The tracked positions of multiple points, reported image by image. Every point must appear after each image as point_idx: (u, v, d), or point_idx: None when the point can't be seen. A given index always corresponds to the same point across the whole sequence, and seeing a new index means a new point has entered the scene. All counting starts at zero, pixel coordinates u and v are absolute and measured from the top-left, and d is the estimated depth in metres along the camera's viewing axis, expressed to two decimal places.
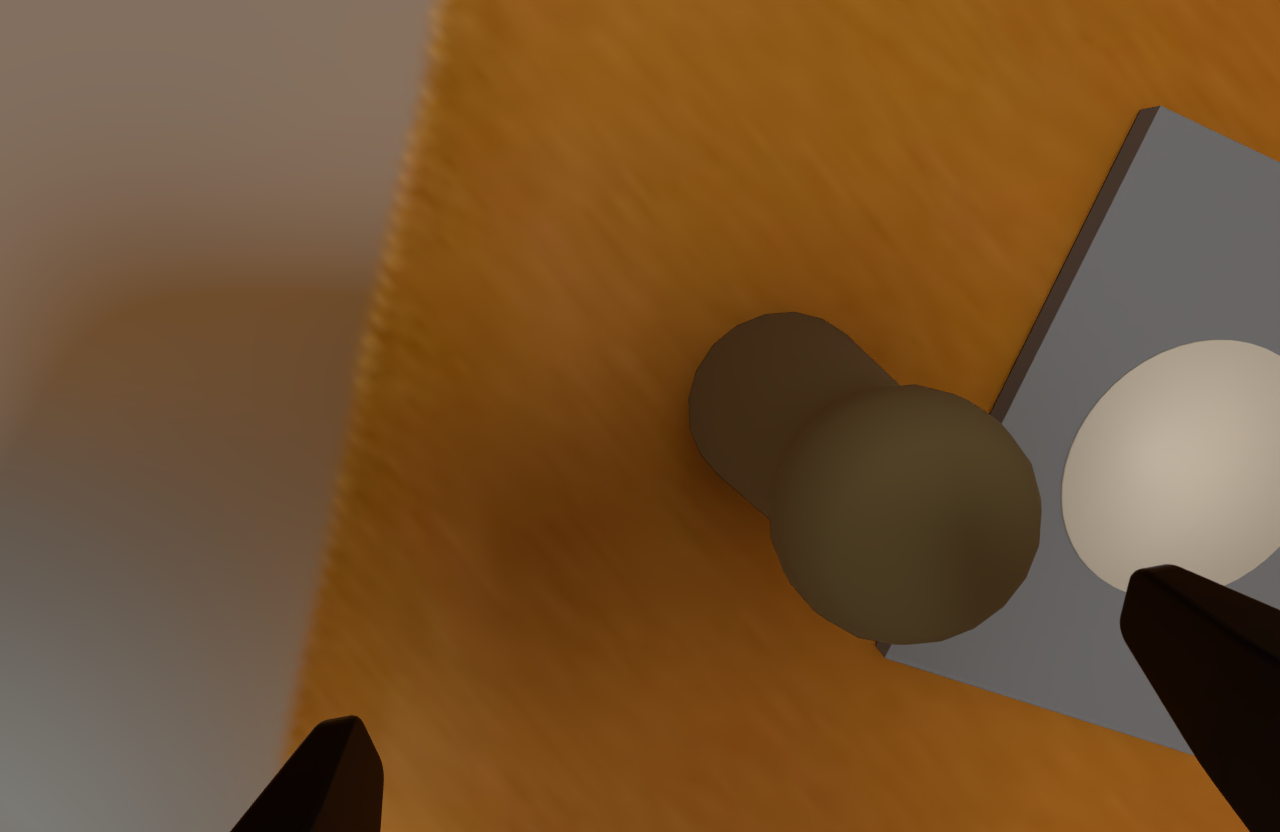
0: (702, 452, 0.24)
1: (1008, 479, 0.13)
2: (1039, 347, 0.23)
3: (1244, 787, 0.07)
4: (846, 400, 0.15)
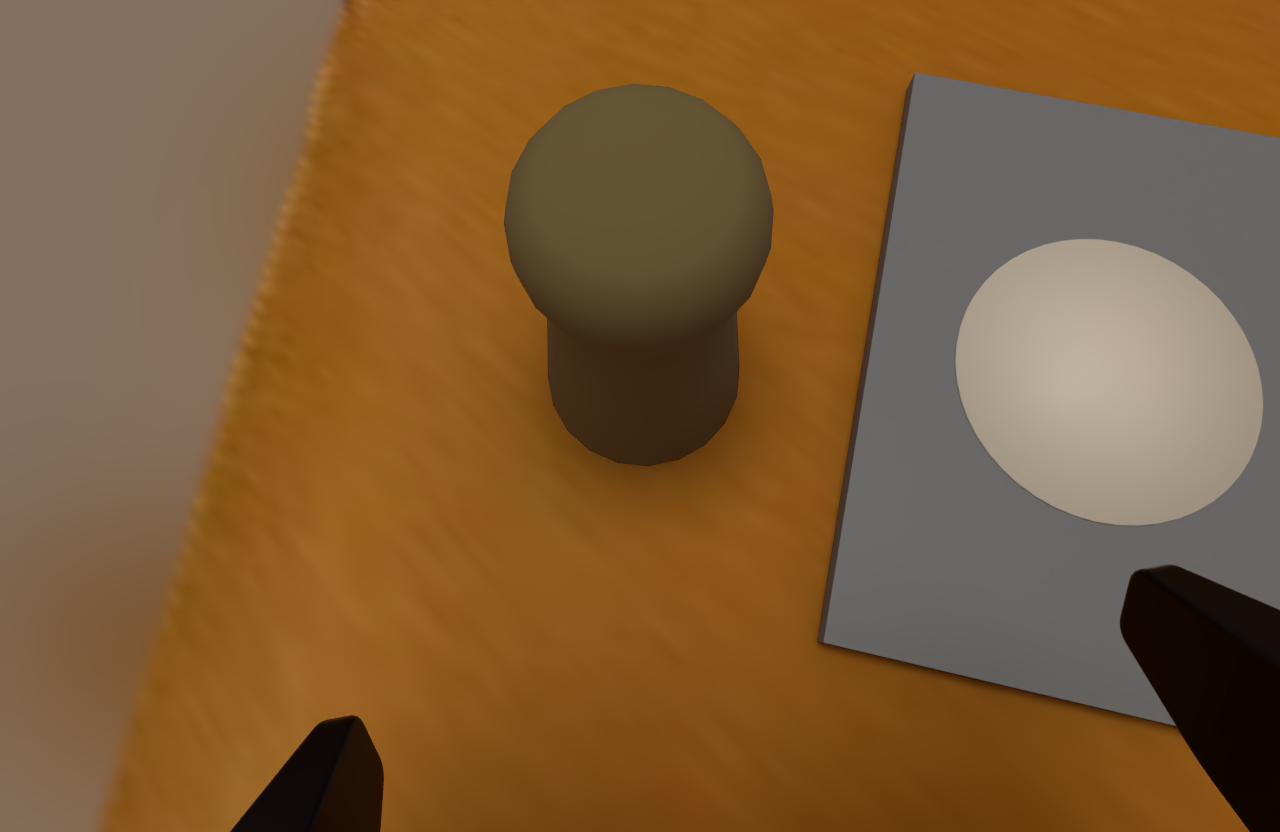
0: (564, 420, 0.23)
1: (697, 112, 0.14)
2: (883, 272, 0.23)
3: (1244, 787, 0.07)
4: None
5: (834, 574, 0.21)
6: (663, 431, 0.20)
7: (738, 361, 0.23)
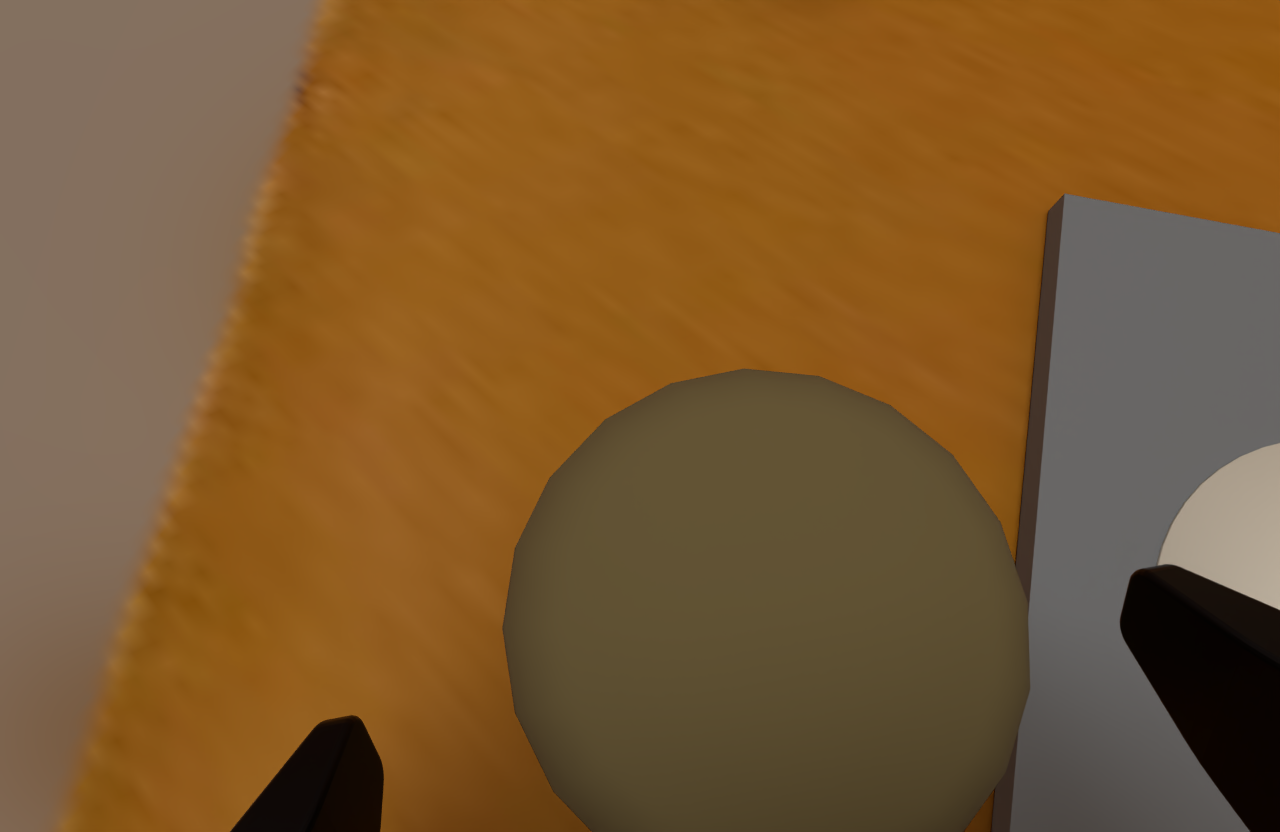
0: None
1: (891, 454, 0.07)
2: (1039, 485, 0.17)
3: (1244, 787, 0.07)
4: None
5: None
6: None
7: None
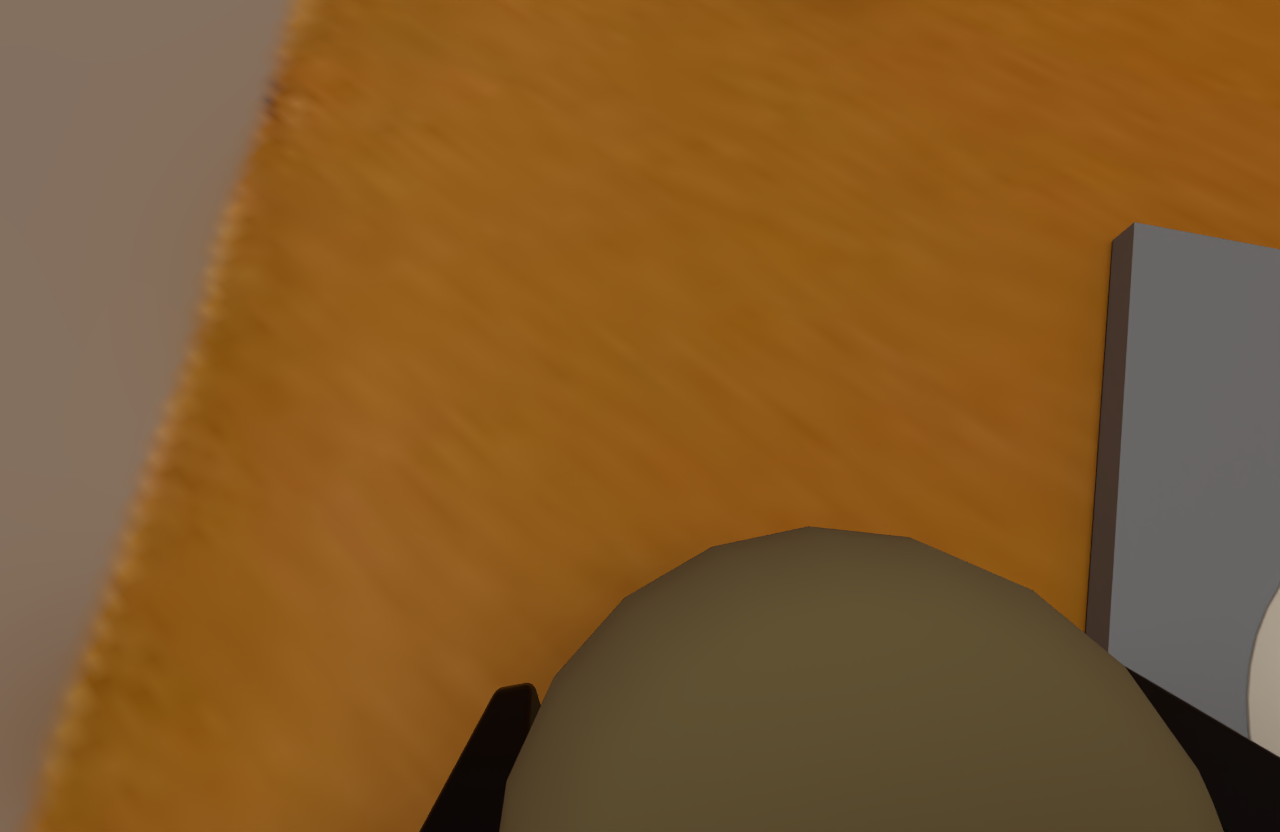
0: None
1: (1062, 700, 0.05)
2: (1113, 562, 0.15)
3: None
4: None
5: None
6: None
7: None
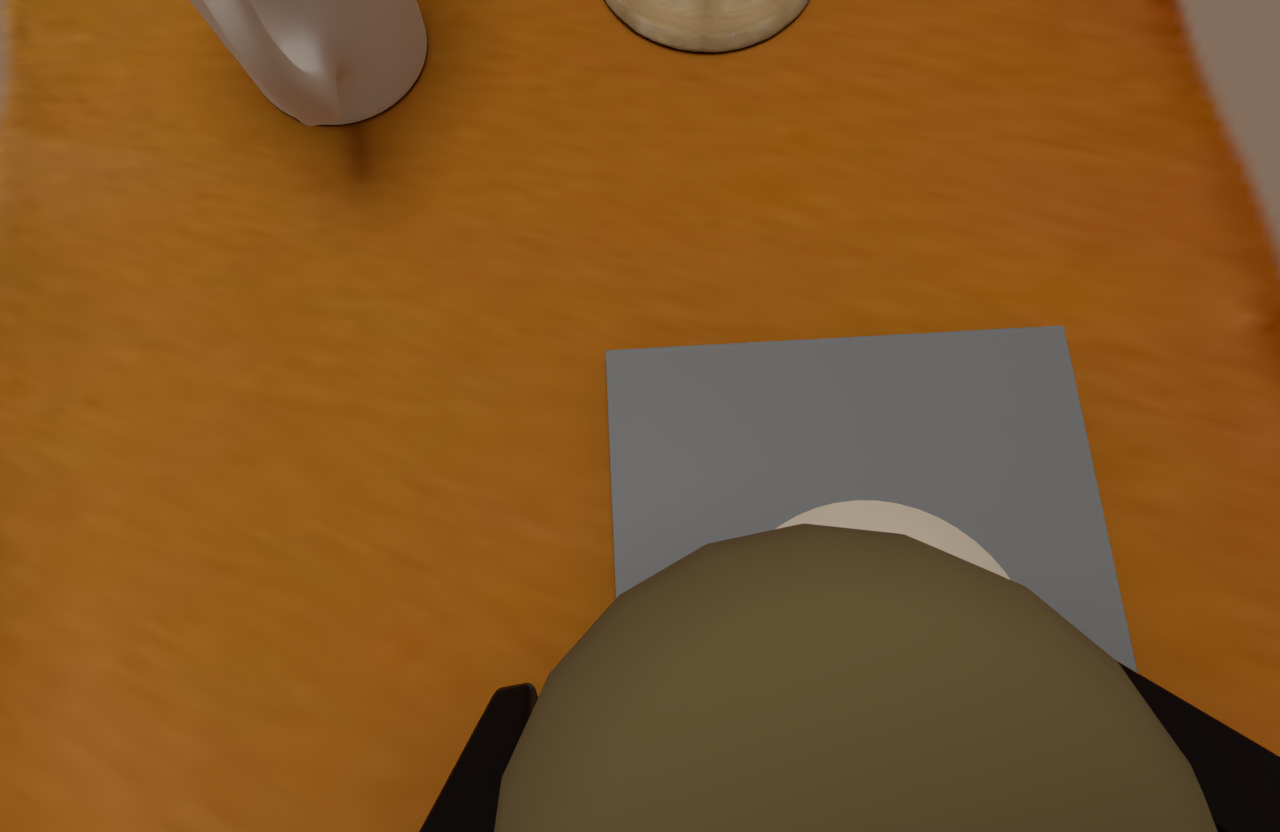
0: None
1: (1054, 696, 0.05)
2: None
3: None
4: None
5: None
6: None
7: None
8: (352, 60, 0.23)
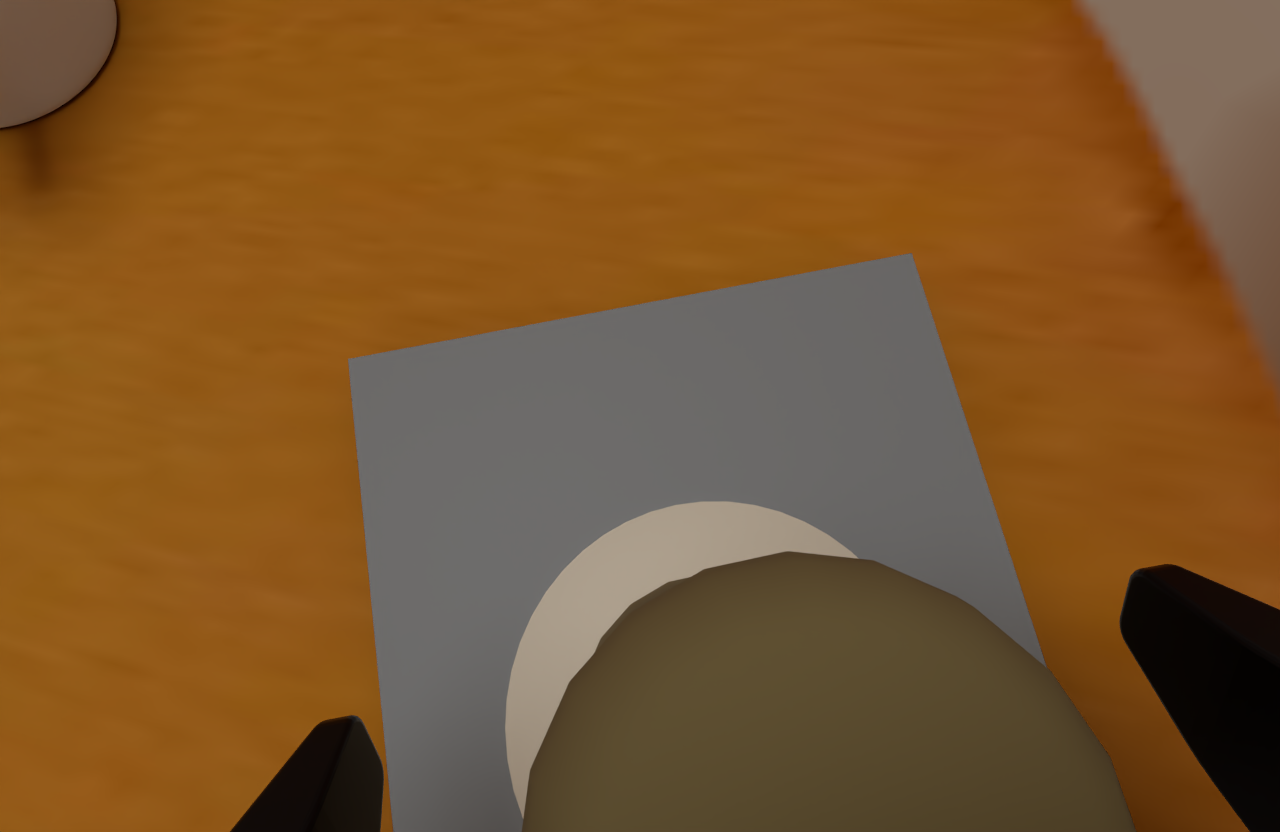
0: None
1: (990, 701, 0.06)
2: (380, 685, 0.16)
3: (1244, 787, 0.07)
4: None
5: None
6: None
7: None
8: None
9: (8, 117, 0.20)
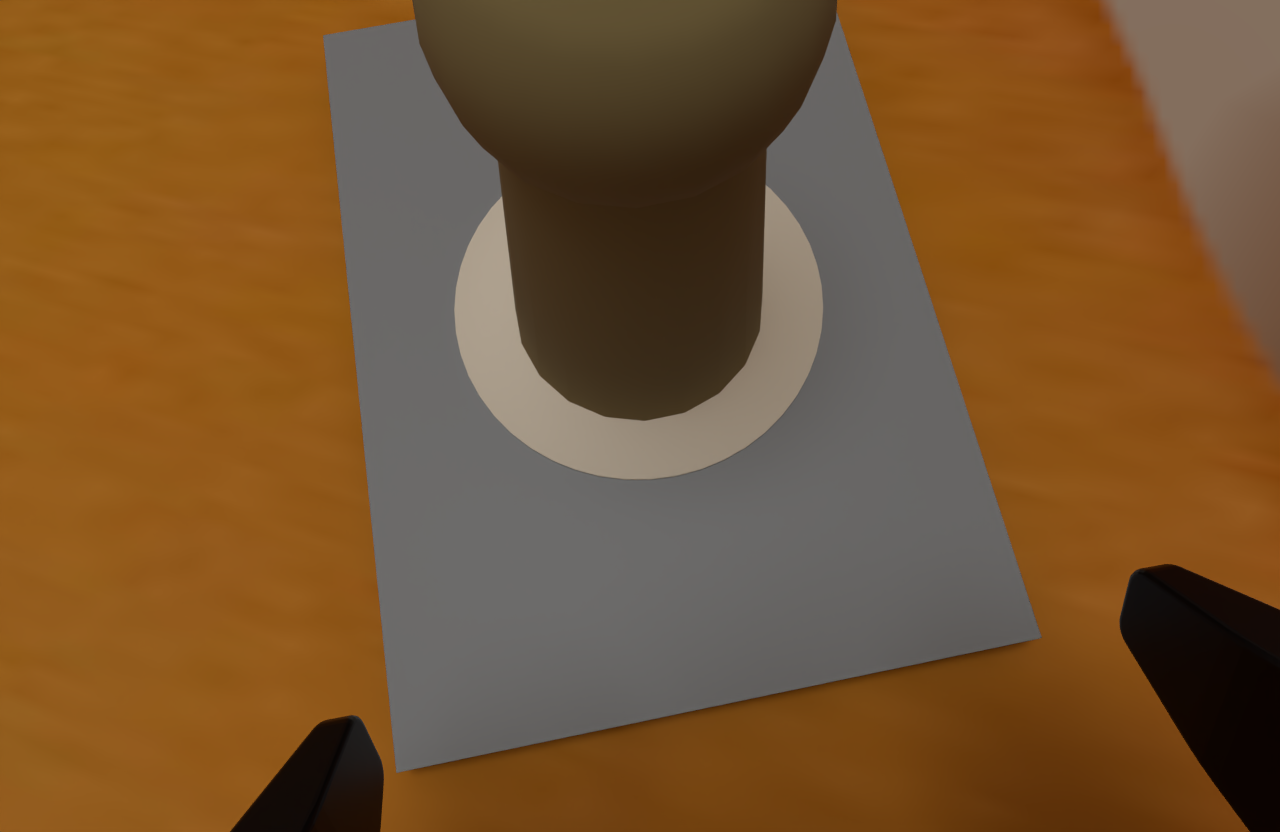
0: (535, 361, 0.17)
1: None
2: (348, 281, 0.19)
3: (1244, 787, 0.07)
4: None
5: (387, 678, 0.16)
6: (665, 365, 0.15)
7: (762, 283, 0.17)
8: None
9: None
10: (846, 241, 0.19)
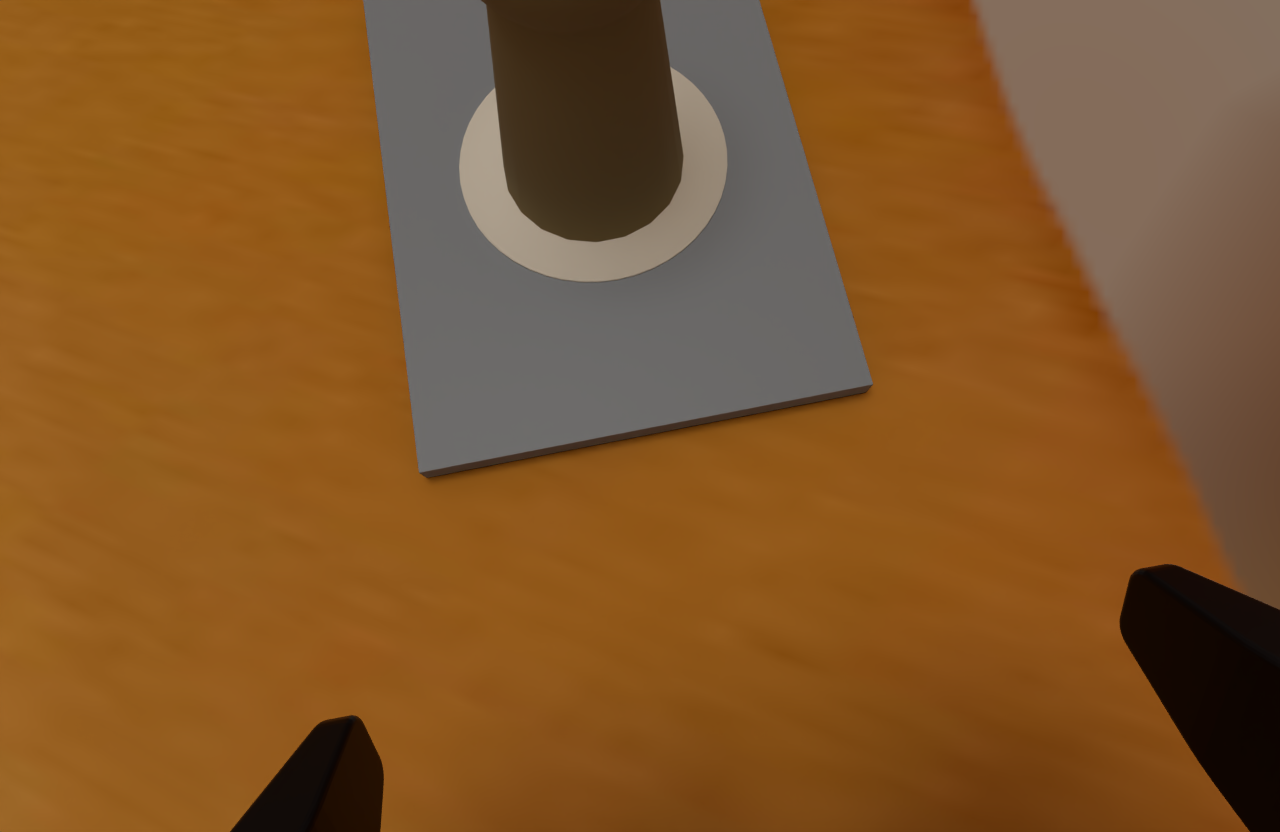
0: (517, 198, 0.24)
1: None
2: (381, 148, 0.25)
3: (1244, 787, 0.07)
4: None
5: (412, 413, 0.23)
6: (604, 183, 0.22)
7: (680, 142, 0.24)
8: None
9: None
10: (746, 119, 0.26)
